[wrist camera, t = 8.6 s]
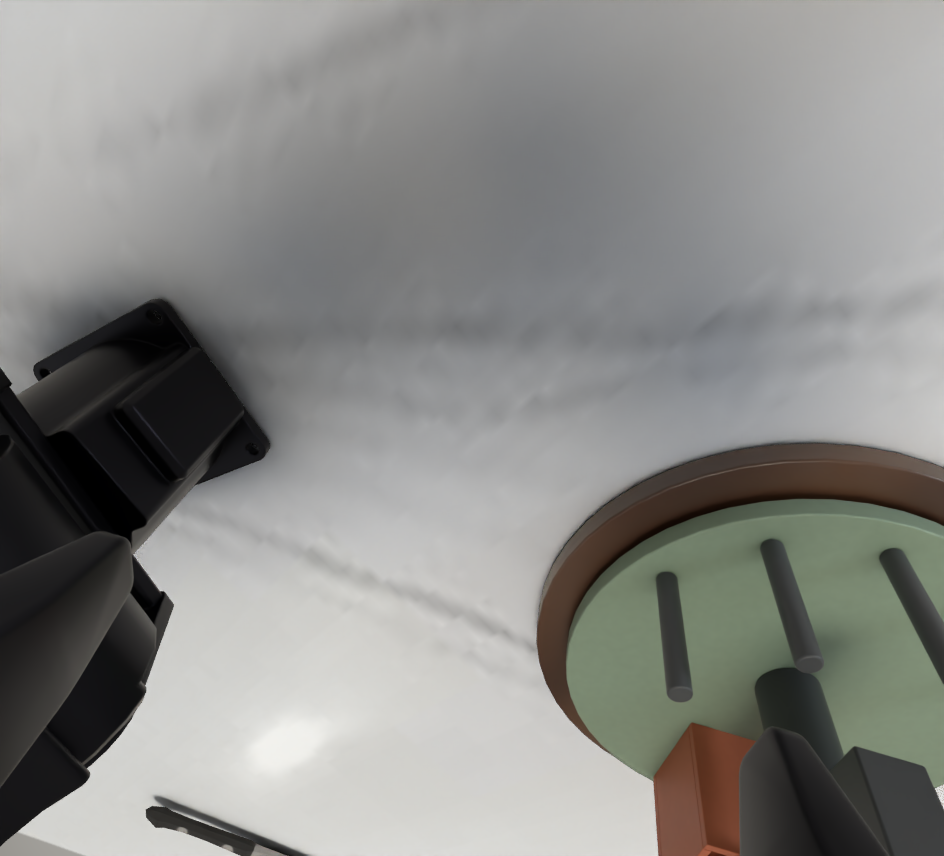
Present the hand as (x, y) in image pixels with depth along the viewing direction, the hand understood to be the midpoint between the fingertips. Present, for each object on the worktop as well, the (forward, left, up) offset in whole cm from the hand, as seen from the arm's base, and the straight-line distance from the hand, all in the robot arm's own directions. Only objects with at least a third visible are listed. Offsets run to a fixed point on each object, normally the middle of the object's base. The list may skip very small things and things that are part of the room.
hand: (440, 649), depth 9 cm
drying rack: (+3, -16, -12) cm, 20 cm away
